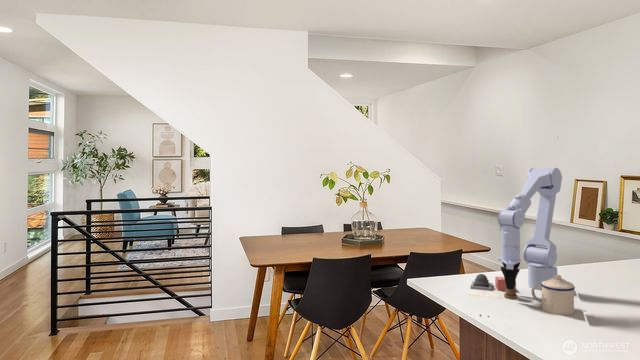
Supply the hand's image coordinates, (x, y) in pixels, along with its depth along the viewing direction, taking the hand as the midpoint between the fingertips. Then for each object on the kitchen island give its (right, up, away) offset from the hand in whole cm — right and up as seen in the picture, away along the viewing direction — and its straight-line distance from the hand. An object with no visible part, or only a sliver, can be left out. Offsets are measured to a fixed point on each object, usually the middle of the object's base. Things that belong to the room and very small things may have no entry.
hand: (510, 285), depth 145 cm
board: (-4, -5, +6) cm, 9 cm away
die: (+1, -4, +10) cm, 10 cm away
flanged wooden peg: (0, -4, 0) cm, 4 cm away
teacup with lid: (+8, -6, -11) cm, 15 cm away
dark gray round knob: (-5, -3, +13) cm, 14 cm away
